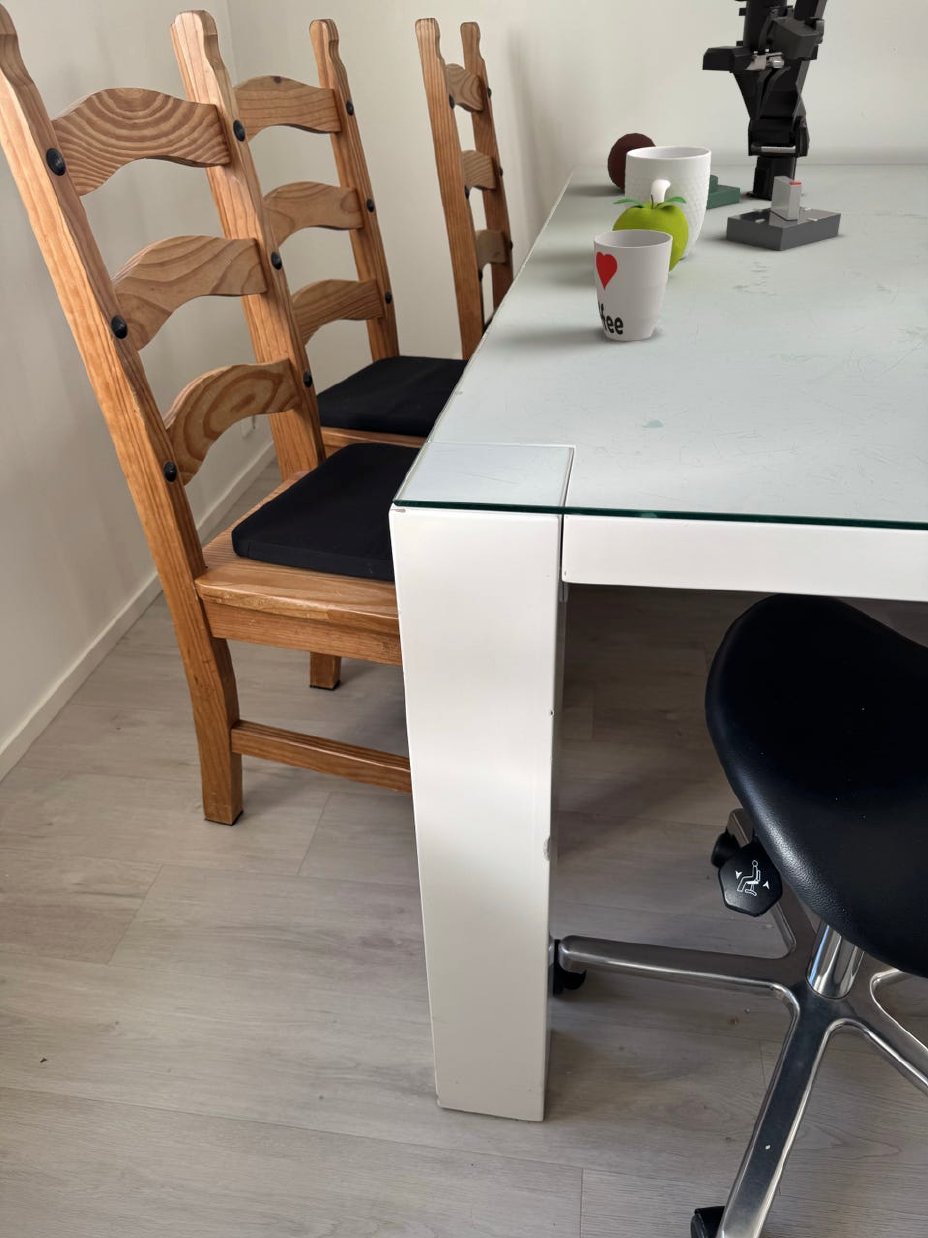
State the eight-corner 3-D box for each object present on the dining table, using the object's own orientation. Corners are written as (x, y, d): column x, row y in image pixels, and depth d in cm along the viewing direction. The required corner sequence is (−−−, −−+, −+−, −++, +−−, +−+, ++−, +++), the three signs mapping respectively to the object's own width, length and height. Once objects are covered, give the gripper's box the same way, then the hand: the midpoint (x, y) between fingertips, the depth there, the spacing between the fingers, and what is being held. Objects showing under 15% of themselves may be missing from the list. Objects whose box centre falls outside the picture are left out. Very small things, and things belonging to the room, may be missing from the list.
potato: (660, 183, 176) (664, 127, 171) (648, 196, 167) (651, 137, 162) (613, 183, 179) (615, 127, 174) (599, 196, 170) (600, 138, 165)
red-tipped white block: (770, 210, 139) (774, 174, 137) (781, 209, 139) (785, 173, 137) (786, 220, 134) (791, 183, 131) (798, 219, 134) (803, 182, 131)
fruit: (669, 289, 119) (674, 202, 114) (600, 282, 123) (602, 198, 118) (695, 272, 125) (702, 189, 120) (629, 266, 130) (632, 185, 124)
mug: (696, 274, 124) (704, 162, 117) (610, 272, 127) (614, 163, 120) (707, 247, 136) (715, 144, 129) (628, 245, 139) (632, 145, 132)
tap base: (779, 224, 145) (782, 202, 143) (841, 236, 137) (845, 212, 135) (722, 238, 140) (724, 215, 138) (783, 251, 132) (786, 226, 130)
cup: (585, 325, 109) (586, 232, 103) (656, 319, 109) (661, 226, 104) (599, 348, 102) (602, 249, 97) (675, 342, 103) (682, 243, 97)
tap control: (699, 195, 166) (701, 169, 164) (739, 201, 160) (741, 175, 158) (652, 205, 161) (653, 179, 159) (690, 212, 155) (692, 185, 153)
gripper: (765, 1, 128) (752, 131, 137) (856, -8, 137) (838, 116, 145) (704, 2, 136) (695, 125, 145) (794, -6, 144) (780, 111, 153)
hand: (754, 119), depth 147 cm, fingers closed
